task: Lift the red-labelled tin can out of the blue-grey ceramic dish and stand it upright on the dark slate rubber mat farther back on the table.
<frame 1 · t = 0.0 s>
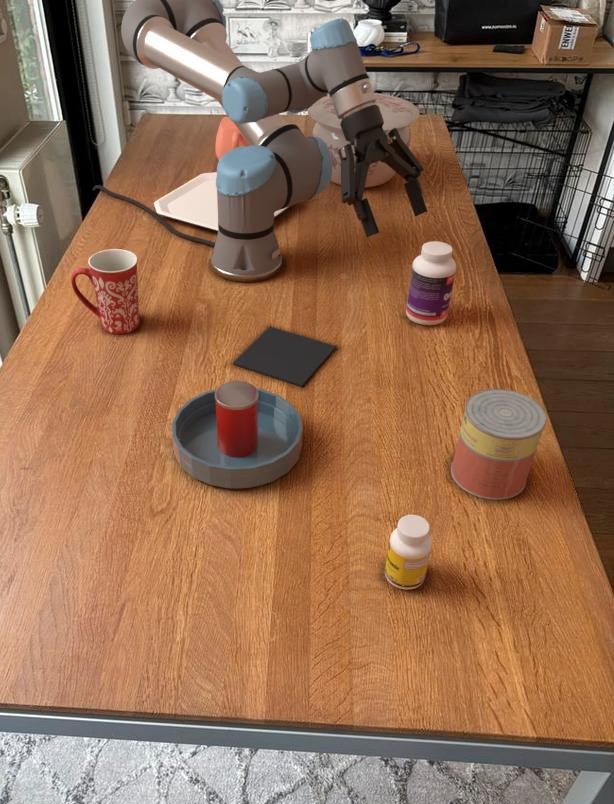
hand: (397, 224, 148), 15 cm above the table, tool tilted 35°, fingers open, 13 cm apart
pill bottle: (425, 317, 152), on the table
supplement bottle: (404, 576, 105), on the table
teapot: (237, 162, 210), on the table
canned food: (487, 475, 119), on the table
plate: (227, 209, 189), on the table
mug: (112, 325, 151), on the table
dish: (237, 447, 124), on the table
mat: (285, 356, 143), on the table
tin can: (237, 444, 124), point 1 cm above the table, touching dish
chamber pot: (356, 179, 202), on the table
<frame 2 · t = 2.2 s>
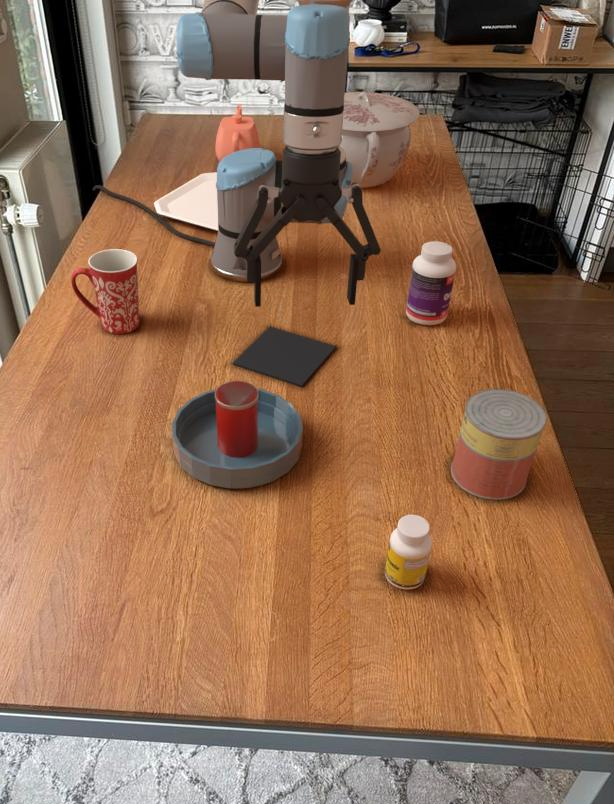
hand: (304, 302, 113), 23 cm above the table, tool pointing down, fingers open, 13 cm apart
nothing on the table moved.
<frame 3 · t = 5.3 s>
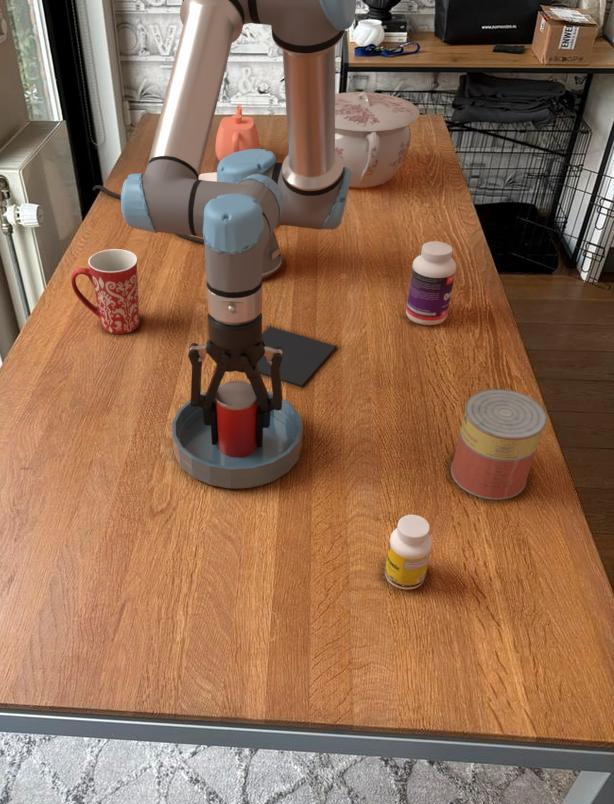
hand: (237, 440, 123), 1 cm above the table, tool pointing down, fingers closed on tin can, 6 cm apart
tin can: (237, 444, 124), point 1 cm above the table, touching dish, gripper
everything else where it was.
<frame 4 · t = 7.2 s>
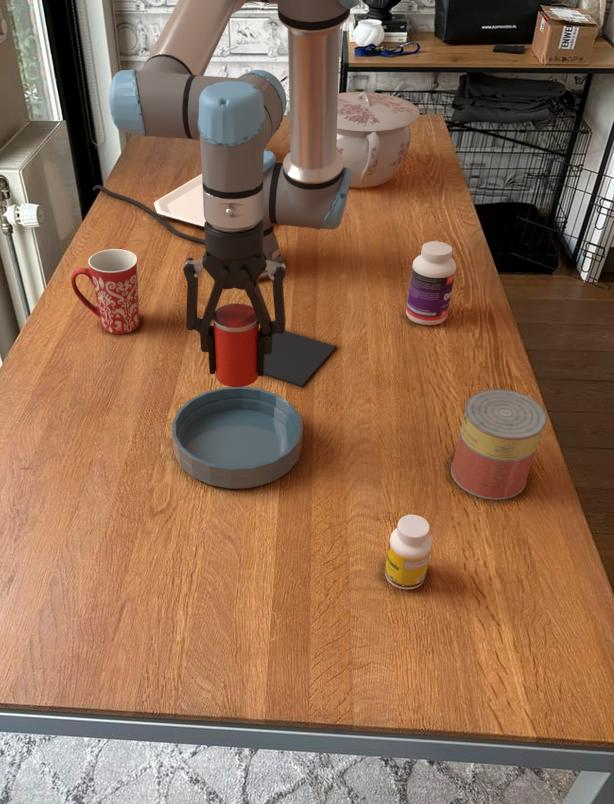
hand: (237, 369, 114), 15 cm above the table, tool pointing down, fingers closed on tin can, 6 cm apart
tin can: (237, 374, 115), point 14 cm above the table, touching gripper
everything else where it was.
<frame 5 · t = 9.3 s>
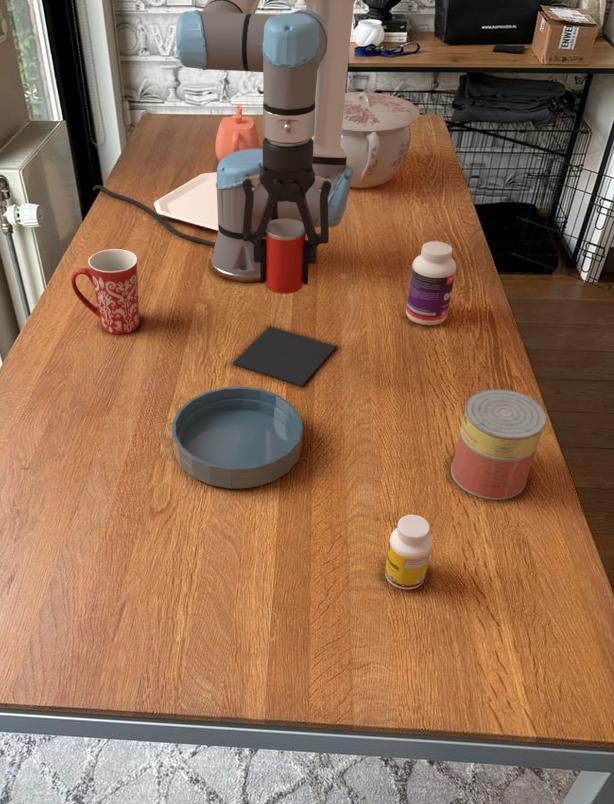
hand: (284, 279, 130), 16 cm above the table, tool pointing down, fingers closed on tin can, 6 cm apart
tin can: (284, 284, 131), point 16 cm above the table, touching gripper
everything else where it was.
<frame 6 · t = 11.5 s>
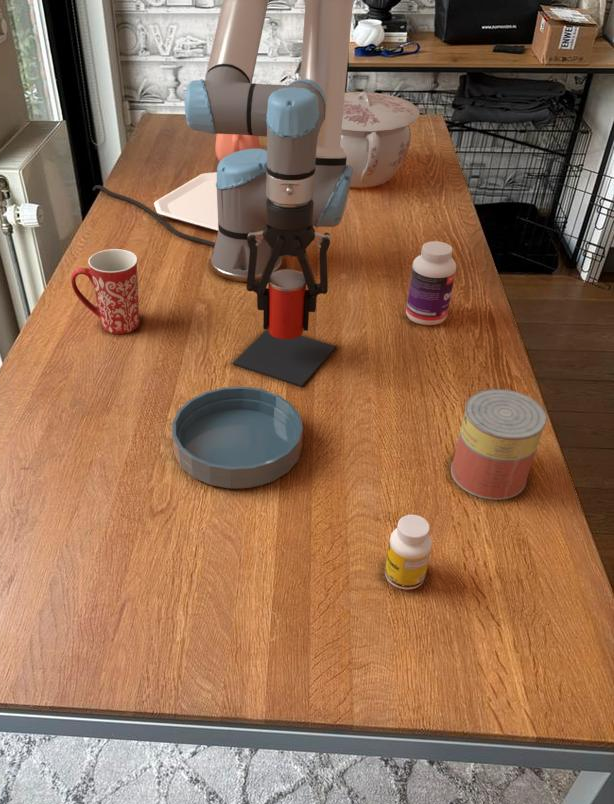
hand: (285, 325, 138), 7 cm above the table, tool pointing down, fingers closed on tin can, 6 cm apart
tin can: (285, 329, 139), point 6 cm above the table, touching gripper
everything else where it was.
when the fingers open (1 cm above the table, at t = 13.2 s): tin can stays where it is, resting on mat.
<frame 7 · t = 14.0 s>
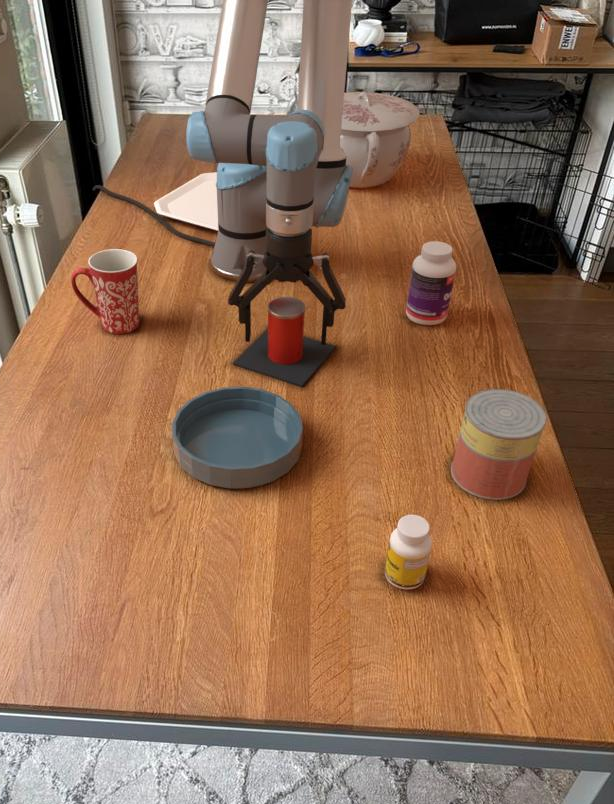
hand: (285, 339, 140), 4 cm above the table, tool pointing down, fingers open, 13 cm apart
tin can: (285, 354, 142), resting on mat
everything else where it was.
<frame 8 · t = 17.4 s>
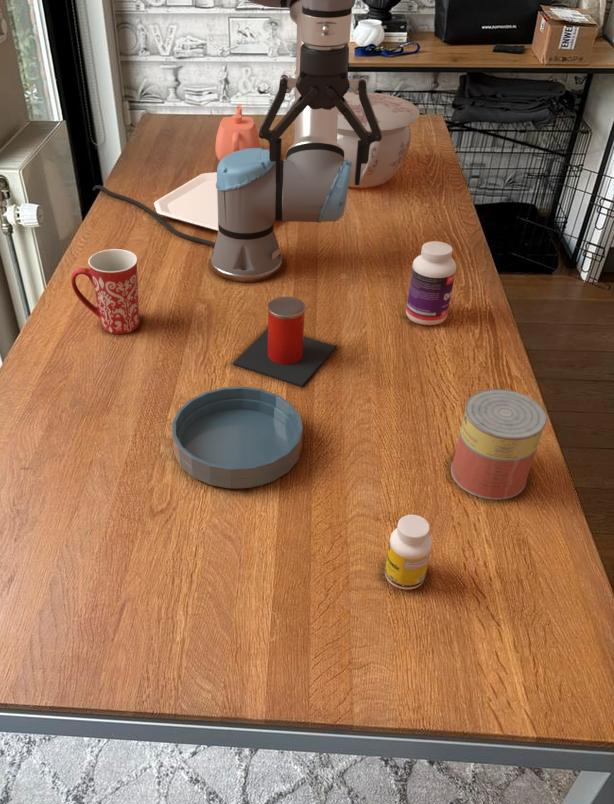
hand: (317, 181, 134), 27 cm above the table, tool pointing down, fingers open, 13 cm apart
nothing on the table moved.
at the end: tin can inside the target area on the mat (0.1 cm from its centre), point 0.4 cm above the mat's base; tin can tilted 0°; tin can touching mat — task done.
